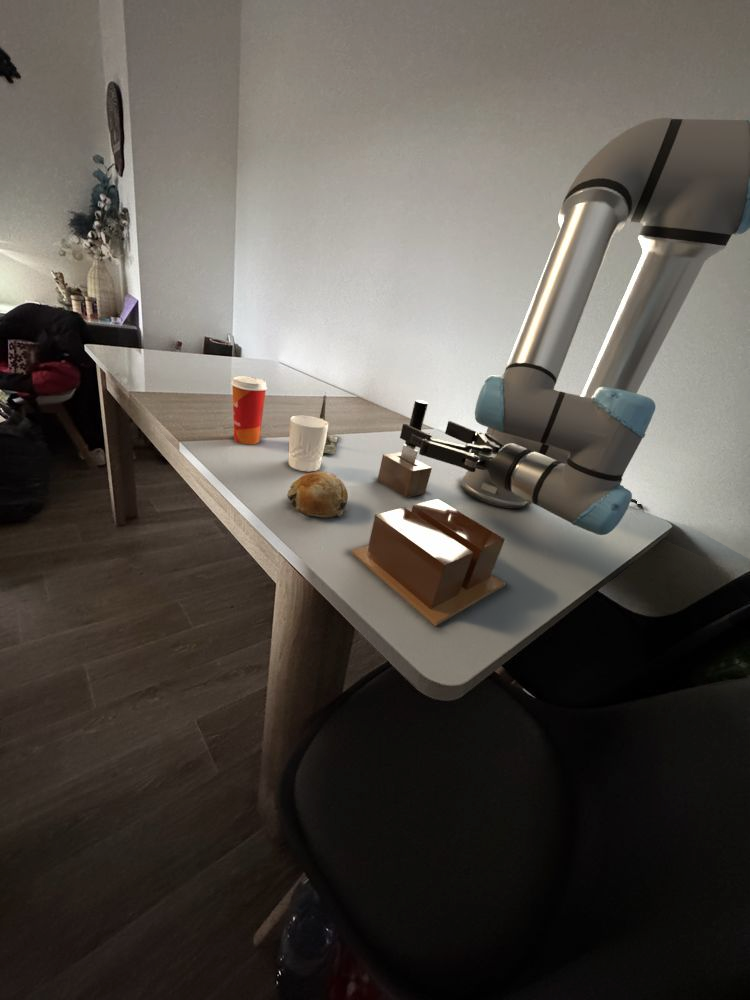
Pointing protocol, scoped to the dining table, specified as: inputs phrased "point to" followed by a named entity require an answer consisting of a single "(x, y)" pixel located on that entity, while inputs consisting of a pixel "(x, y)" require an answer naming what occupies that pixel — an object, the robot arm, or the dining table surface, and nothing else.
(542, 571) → the dining table surface
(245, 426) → the paper cup
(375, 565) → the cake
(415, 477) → the knife block
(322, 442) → the white cup
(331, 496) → the bread roll
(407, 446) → the knife
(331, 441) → the eiffel tower figurine
